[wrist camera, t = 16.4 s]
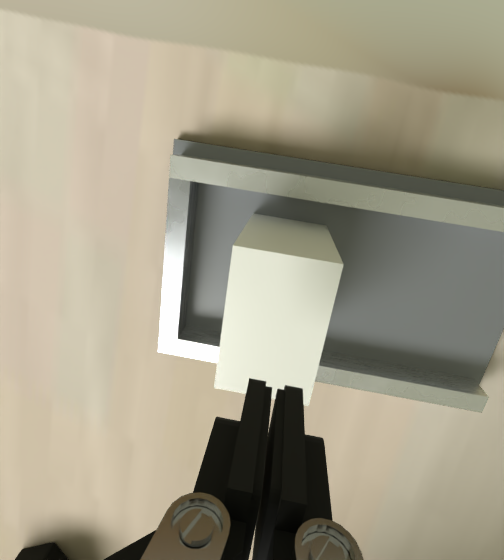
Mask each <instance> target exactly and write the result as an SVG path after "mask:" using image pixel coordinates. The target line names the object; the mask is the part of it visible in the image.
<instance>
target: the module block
mask: <svg viewBox="0 0 504 560" xmlns="http://www.w3.org/2000/svg"><path fill="white" fill-rule="evenodd" d="M343 265H344V264H343V262H342V260H341V257H340V255H339V253H338V251H337V248H336V246H335V244H334V242H333V239H332V237H331V235H330V233H329V230H328V228H327V226H326V225H320V224H314V223H308V222H302V221H296V220H290V219H284V218H278V217H272V216H266V215H260V214H254V213H253V215H252V216H251V218H250V219H249V221H248V222H247V224H246V226H245V227H244V229H243V230H242V232H241V233H240V235H239V236H238V238H237V240H236V241H235V243H234V244H233V248H232V255H231V263H230V271H229V278H228V286H227V293H226V301H225V308H224V316H223V324H222V331H221V339H220V346H219V354H218V361H217V369H216V377H215V384H214V388H217V389H223V390H228V391H233V392H238V393H244V394H246V392H247V387H248V382H249V378H251V379H257V380H262V381H266V386H268V387H272V396H271V399H275V398H276V393H277V389H283V390H284V387H285V385H288V386H293V387H298V388H302V389H303V405H306V406H309V402H310V398H311V394H312V390H313V386H314V382H315V378H316V374H317V370H318V366H319V362H320V358H321V354H322V350H323V346H324V342H325V338H326V334H327V330H328V326H329V322H330V317H331V313H332V309H333V305H334V301H335V297H336V293H337V289H338V285H339V281H340V277H341V273H342V269H343Z"/></svg>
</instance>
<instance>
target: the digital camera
mask: <svg viewBox="0 0 504 560" xmlns="http://www.w3.org/2000/svg"><path fill="white" fill-rule="evenodd" d="M15 560H68V558H67V557H66V556H65V555H64V553H63V552H62V551H61V550H60V549H59V547H58V546H57V545H56V544H55V543H54V542H52V543H48V544H43V545H39V546H35V547H31V548H26V549H22V550H21V552H20V553H19V554H18V556H17V557H16V559H15Z"/></svg>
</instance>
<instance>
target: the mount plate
mask: <svg viewBox="0 0 504 560" xmlns="http://www.w3.org/2000/svg"><path fill="white" fill-rule="evenodd" d="M173 155H188V156H194V157H200V158H206V159H213V160H219V161H225V162H232V163H238V164H244V165H250V166H257V167H263V168H269V169H276V170H282V171H288V172H294V173H301V174H307V175H313V176H320V177H326V178H332V179H338V180H345V181H351V182H357V183H363V184H370V185H376V186H382V187H389V188H395V189H401V190H407V191H414V192H420V193H426V194H433V195H439V196H445V197H451V198H458V199H464V200H470V201H477V202H483V203H489V204H495V205H502V206H504V190H497V189H491V188H485V187H478V186H472V185H466V184H459V183H453V182H447V181H440V180H434V179H427V178H421V177H415V176H408V175H402V174H396V173H389V172H383V171H377V170H370V169H364V168H357V167H351V166H345V165H338V164H332V163H326V162H319V161H313V160H307V159H300V158H294V157H287V156H281V155H275V154H268V153H262V152H256V151H249V150H243V149H237V148H230V147H224V146H217V145H211V144H205V143H198V142H192V141H186V140H179V139H174V148H173ZM253 213H254V214H260V215H266V216H272V217H278V218H284V219H290V220H296V221H302V222H308V223H314V224H320V225H326V226H327V228H328V230H329V233H330V235H331V237H332V239H333V242H334V244H335V246H336V248H337V251H338V253H339V255H340V257H341V260H342V262H343V264H344V265H343V269H342V273H341V277H340V281H339V285H338V289H337V293H336V297H335V301H334V305H333V309H332V313H331V317H330V322H329V326H328V330H327V334H326V338H325V342H324V346H323V351H328V352H334V353H339V354H345V355H350V356H356V357H361V358H367V359H372V360H377V361H383V362H388V363H394V364H399V365H405V366H410V367H416V368H421V369H426V370H432V371H437V372H443V373H448V374H454V375H459V376H465V377H470V378H474V379H475V380H476V382H477V383H478V384H480V382H481V379H482V377H483V375H484V373H485V370H486V368H487V366H488V363H489V361H490V359H491V357H492V354H493V352H494V350H495V347H496V345H497V343H498V341H499V338H500V336H501V334H502V331H503V329H504V232H500V231H494V230H488V229H482V228H476V227H469V226H463V225H457V224H451V223H445V222H439V221H433V220H426V219H420V218H414V217H408V216H402V215H396V214H390V213H383V212H377V211H371V210H365V209H359V208H353V207H347V206H340V205H334V204H328V203H322V202H316V201H310V200H304V199H297V198H291V197H285V196H279V195H273V194H267V193H261V192H254V191H248V190H242V189H236V188H230V187H224V186H218V185H211V184H205V183H199V187H198V197H197V208H196V219H195V230H194V241H193V252H192V263H191V273H190V284H189V295H188V306H187V317H186V325H187V326H192V327H198V328H203V329H209V330H214V331H219V332H221V331H222V324H223V316H224V308H225V301H226V293H227V286H228V278H229V271H230V263H231V255H232V248H233V244H234V243H235V241H236V240H237V238H238V236H239V235H240V233H241V232H242V230H243V229H244V227H245V226H246V224H247V222H248V221H249V219H250V218H251V216H252V215H253Z"/></svg>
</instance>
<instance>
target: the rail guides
mask: <svg viewBox="0 0 504 560" xmlns="http://www.w3.org/2000/svg"><path fill="white" fill-rule="evenodd" d="M199 183H205V184H211V185H218V186H224V187H230V188H236V189H242V190H248V191H254V192H261V193H267V194H273V195H279V196H285V197H291V198H297V199H304V200H310V201H316V202H322V203H328V204H334V205H340V206H347V207H353V208H359V209H365V210H371V211H377V212H383V213H390V214H396V215H402V216H408V217H414V218H420V219H426V220H433V221H439V222H445V223H451V224H457V225H463V226H469V227H476V228H482V229H488V230H494V231H500V232H504V206H502V205H495V204H489V203H483V202H477V201H470V200H464V199H458V198H451V197H445V196H439V195H433V194H426V193H420V192H414V191H407V190H401V189H395V188H389V187H382V186H376V185H370V184H363V183H357V182H351V181H345V180H338V179H332V178H326V177H320V176H313V175H307V174H301V173H294V172H288V171H282V170H276V169H269V168H263V167H257V166H250V165H244V164H238V163H232V162H225V161H219V160H213V159H206V158H200V157H194V156H188V155H171V157H170V173H169V189H168V204H167V220H166V235H165V251H164V267H163V282H162V298H161V314H160V329H159V345H158V352H162V353H167V354H172V355H178V356H183V357H188V358H194V359H199V360H204V361H209V362H215V363H217V361H218V354H219V346H220V339H221V332H219V331H214V330H209V329H203V328H198V327H192V326H187V325H186V317H187V306H188V295H189V284H190V273H191V263H192V252H193V241H194V230H195V219H196V208H197V197H198V187H199ZM315 381H316V382H321V383H326V384H332V385H337V386H342V387H348V388H353V389H358V390H364V391H369V392H374V393H380V394H385V395H390V396H396V397H401V398H406V399H412V400H417V401H422V402H427V403H433V404H438V405H443V406H449V407H454V408H459V409H465V410H470V411H475V412H481V413H482V411H483V409H484V407H485V405H486V403H487V400H488V398H489V397H488V395H487V394H486V393H485V392H484V390H483V389H482V388H481V387H480V385H479V384H478V383H477V382H476V380H475V379H474V378H470V377H465V376H459V375H454V374H448V373H443V372H437V371H432V370H426V369H421V368H416V367H410V366H405V365H399V364H394V363H388V362H383V361H377V360H372V359H367V358H361V357H356V356H350V355H345V354H339V353H334V352H328V351H323V350H322V354H321V358H320V362H319V366H318V370H317V374H316V378H315Z"/></svg>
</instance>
